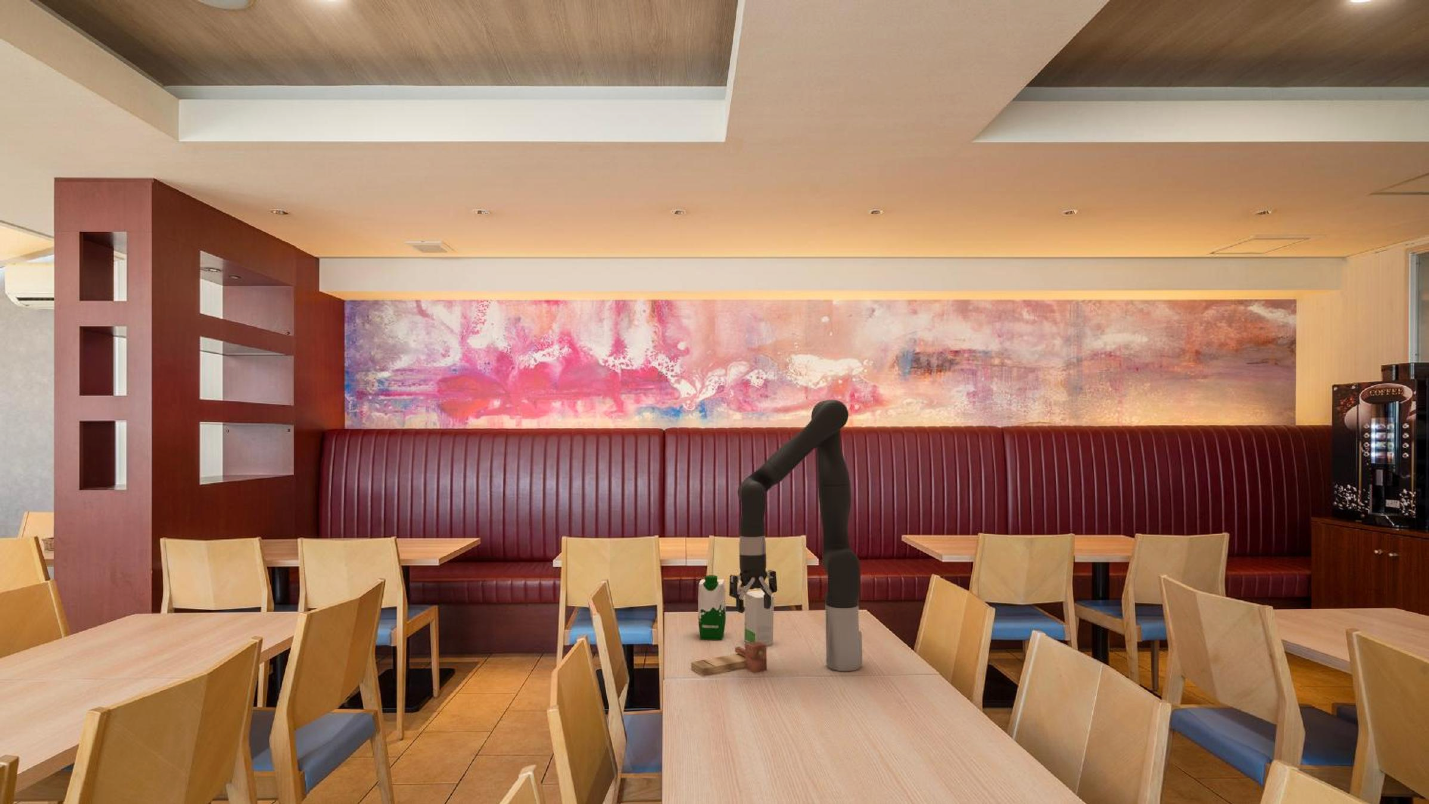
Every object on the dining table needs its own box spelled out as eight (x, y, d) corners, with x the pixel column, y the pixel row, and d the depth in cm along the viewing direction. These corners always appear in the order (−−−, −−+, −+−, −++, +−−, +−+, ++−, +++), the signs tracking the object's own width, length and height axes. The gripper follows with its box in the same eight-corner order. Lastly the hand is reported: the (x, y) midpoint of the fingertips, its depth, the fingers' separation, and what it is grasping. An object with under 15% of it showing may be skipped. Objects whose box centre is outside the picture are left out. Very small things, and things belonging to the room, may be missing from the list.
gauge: (743, 658, 216) (743, 634, 216) (768, 670, 205) (767, 644, 205) (730, 661, 213) (730, 636, 214) (754, 673, 203) (754, 647, 203)
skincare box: (743, 641, 234) (743, 591, 235) (762, 638, 237) (761, 589, 238) (756, 648, 226) (755, 596, 227) (775, 645, 229) (774, 594, 230)
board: (748, 658, 216) (748, 651, 216) (761, 664, 210) (761, 657, 210) (691, 669, 206) (691, 661, 206) (703, 676, 200) (703, 668, 200)
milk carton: (697, 640, 235) (696, 577, 236) (700, 633, 244) (700, 572, 245) (724, 641, 234) (723, 577, 235) (726, 633, 243) (726, 572, 244)
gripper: (767, 547, 213) (768, 604, 212) (723, 552, 206) (725, 611, 205) (781, 551, 206) (782, 609, 205) (737, 556, 199) (738, 616, 199)
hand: (753, 610), depth 205 cm, fingers open, 8 cm apart
